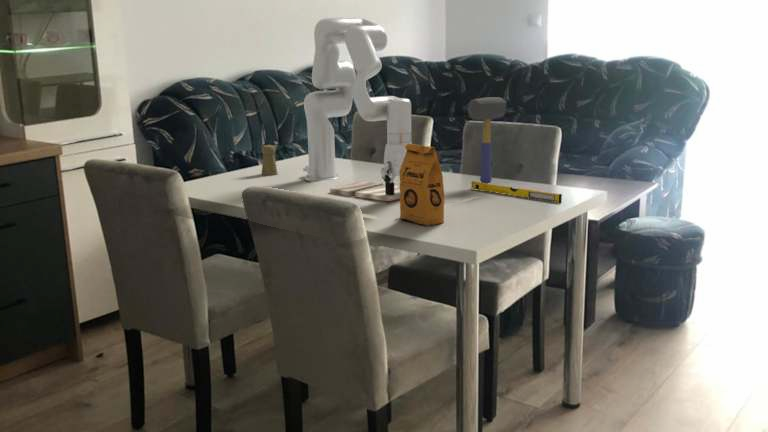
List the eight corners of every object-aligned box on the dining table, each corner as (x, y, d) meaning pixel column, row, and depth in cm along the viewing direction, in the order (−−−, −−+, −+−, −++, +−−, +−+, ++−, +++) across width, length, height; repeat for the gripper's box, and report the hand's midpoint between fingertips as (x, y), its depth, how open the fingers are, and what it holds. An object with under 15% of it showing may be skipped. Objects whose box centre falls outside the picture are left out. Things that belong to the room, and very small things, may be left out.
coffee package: (423, 228, 227) (423, 149, 221) (395, 220, 236) (394, 144, 231) (450, 222, 233) (450, 145, 227) (421, 215, 242) (421, 140, 237)
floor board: (328, 195, 270) (327, 188, 269) (362, 187, 282) (362, 180, 282) (388, 206, 253) (388, 198, 253) (422, 197, 266) (422, 189, 265)
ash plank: (355, 196, 263) (355, 191, 263) (385, 189, 274) (385, 184, 274) (388, 201, 254) (388, 196, 254) (418, 193, 265) (418, 188, 265)
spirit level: (471, 190, 277) (471, 181, 277) (473, 189, 278) (473, 181, 278) (559, 204, 256) (559, 194, 255) (561, 203, 256) (561, 193, 256)
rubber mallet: (478, 188, 279) (479, 99, 272) (464, 184, 286) (465, 97, 279) (506, 183, 286) (508, 97, 279) (492, 180, 292) (494, 95, 285)
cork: (280, 173, 310) (279, 144, 307) (270, 176, 305) (269, 146, 303) (268, 172, 313) (267, 143, 311) (258, 174, 308) (256, 145, 306)
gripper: (407, 134, 265) (407, 186, 269) (372, 140, 252) (372, 195, 256) (425, 136, 260) (426, 189, 264) (390, 142, 248) (391, 198, 252)
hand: (399, 192), depth 260 cm, fingers open, 9 cm apart
